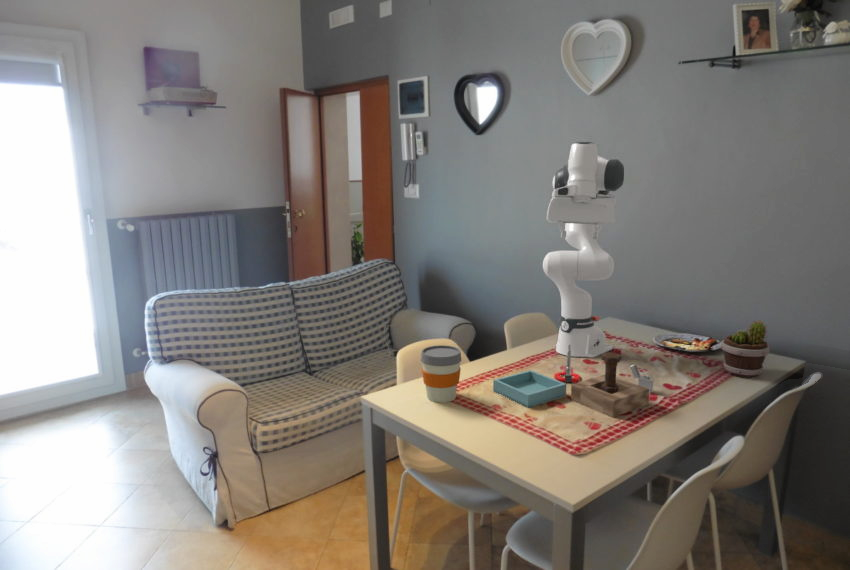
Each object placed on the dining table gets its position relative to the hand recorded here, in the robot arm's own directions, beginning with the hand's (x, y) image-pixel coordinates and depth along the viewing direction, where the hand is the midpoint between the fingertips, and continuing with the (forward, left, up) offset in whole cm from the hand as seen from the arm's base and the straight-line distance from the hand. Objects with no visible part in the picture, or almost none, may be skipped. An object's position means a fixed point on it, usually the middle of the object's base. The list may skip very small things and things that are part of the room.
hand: (579, 238), depth 185 cm
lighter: (-17, +12, -49) cm, 53 cm away
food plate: (-71, -7, -49) cm, 86 cm away
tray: (+14, -6, -49) cm, 51 cm away
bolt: (-1, +13, -49) cm, 51 cm away
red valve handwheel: (-6, -9, -49) cm, 50 cm away
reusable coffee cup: (+38, -20, -49) cm, 65 cm away
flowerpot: (-58, +22, -49) cm, 79 cm away
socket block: (-1, +13, -49) cm, 51 cm away
